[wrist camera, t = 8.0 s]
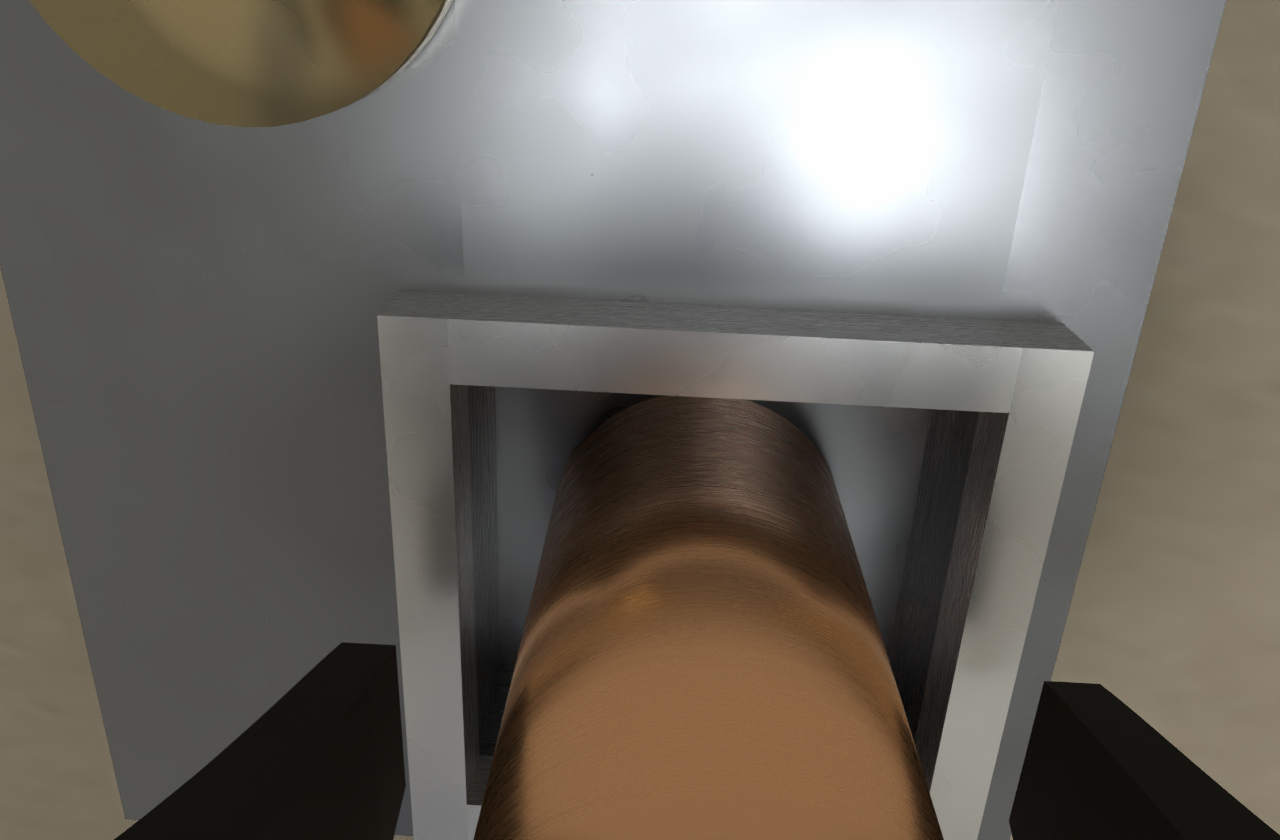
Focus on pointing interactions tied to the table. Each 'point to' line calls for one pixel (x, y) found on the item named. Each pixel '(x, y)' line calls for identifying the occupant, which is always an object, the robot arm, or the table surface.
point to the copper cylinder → (702, 649)
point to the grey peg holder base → (569, 325)
